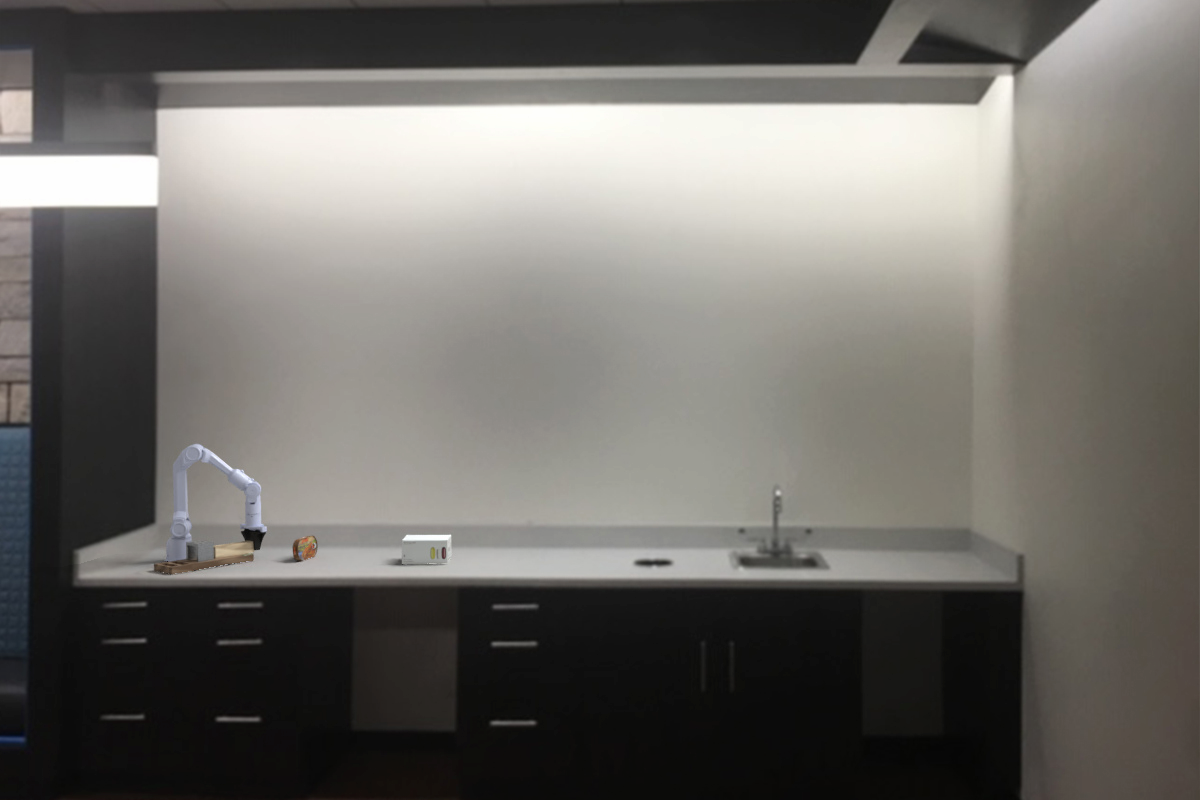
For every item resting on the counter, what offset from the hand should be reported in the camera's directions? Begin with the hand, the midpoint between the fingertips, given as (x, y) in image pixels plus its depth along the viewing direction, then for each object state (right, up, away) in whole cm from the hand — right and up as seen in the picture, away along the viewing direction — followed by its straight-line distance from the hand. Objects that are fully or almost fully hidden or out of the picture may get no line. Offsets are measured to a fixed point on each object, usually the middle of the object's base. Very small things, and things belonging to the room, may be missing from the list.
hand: (253, 549), depth 371 cm
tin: (+20, -3, -3) cm, 21 cm away
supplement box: (+68, -3, -10) cm, 69 cm away
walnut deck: (-12, -4, -16) cm, 20 cm away
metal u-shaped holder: (-13, -1, -18) cm, 22 cm away
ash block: (-5, -1, -7) cm, 9 cm away
